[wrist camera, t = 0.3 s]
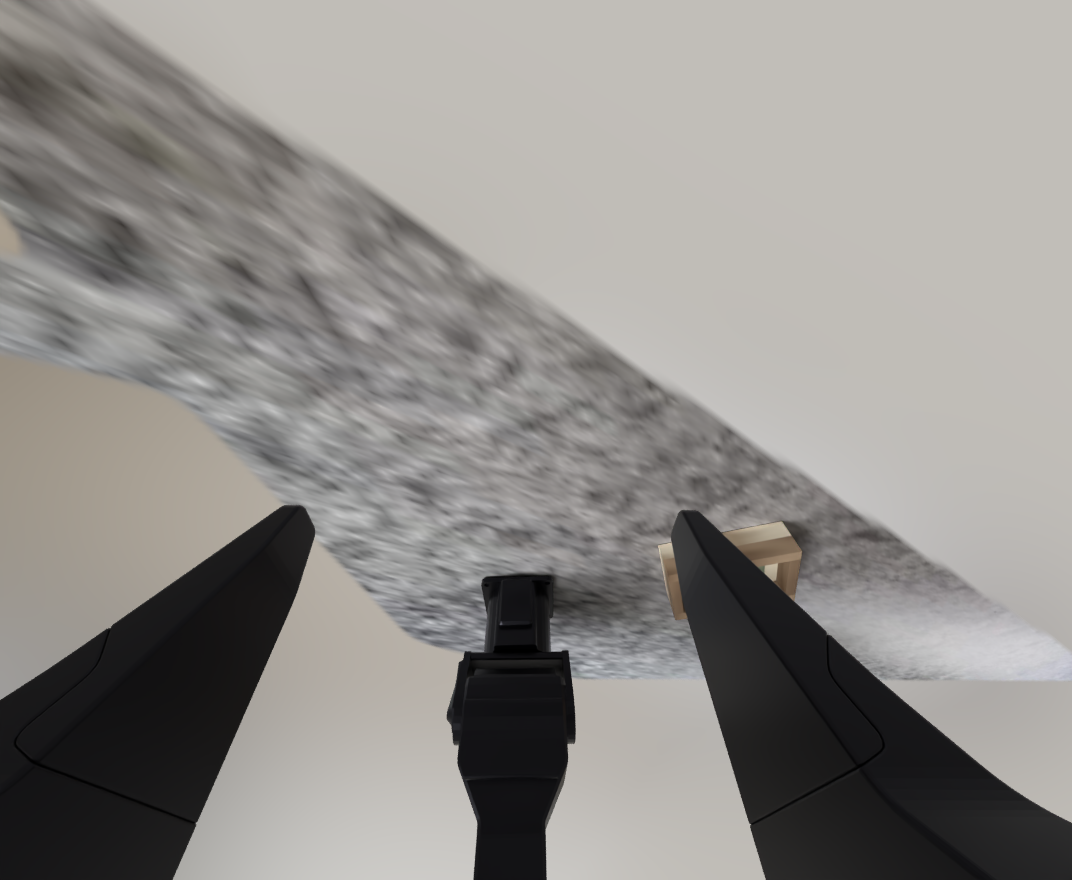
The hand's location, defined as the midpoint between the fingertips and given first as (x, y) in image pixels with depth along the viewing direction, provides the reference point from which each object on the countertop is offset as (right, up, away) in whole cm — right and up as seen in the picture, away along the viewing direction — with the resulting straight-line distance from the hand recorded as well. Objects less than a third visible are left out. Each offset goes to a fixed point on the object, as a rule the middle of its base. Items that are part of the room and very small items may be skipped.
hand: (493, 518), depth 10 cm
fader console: (+17, -9, +25) cm, 32 cm away
